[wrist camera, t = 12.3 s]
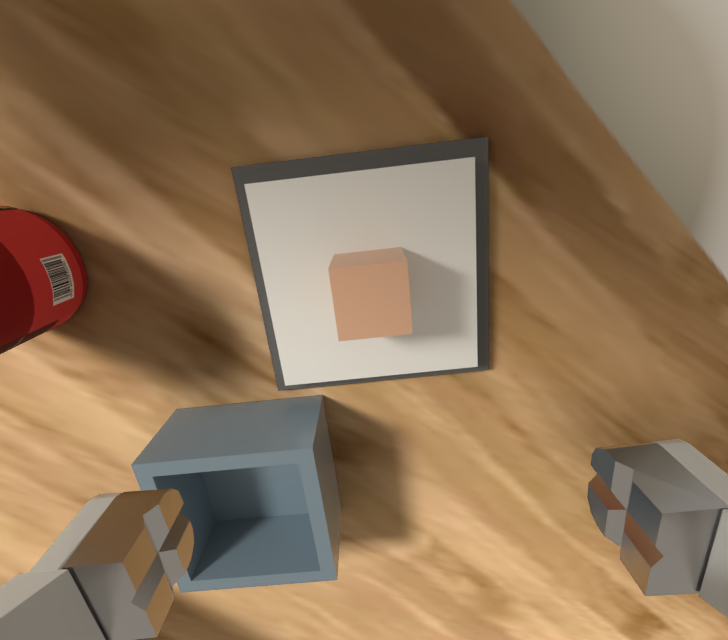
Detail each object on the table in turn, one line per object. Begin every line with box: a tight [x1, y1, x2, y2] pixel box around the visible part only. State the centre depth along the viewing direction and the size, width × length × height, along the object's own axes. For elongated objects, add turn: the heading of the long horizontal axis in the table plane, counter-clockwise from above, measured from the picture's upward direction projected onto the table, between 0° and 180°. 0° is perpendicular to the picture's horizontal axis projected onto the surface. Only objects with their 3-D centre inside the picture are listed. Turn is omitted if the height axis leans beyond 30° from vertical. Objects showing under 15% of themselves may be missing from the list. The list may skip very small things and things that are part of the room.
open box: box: [131, 395, 342, 592], centre depth 28 cm, size 11×11×6 cm
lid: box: [244, 157, 478, 386], centre depth 23 cm, size 13×13×5 cm
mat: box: [231, 137, 489, 391], centre depth 25 cm, size 15×15×1 cm
